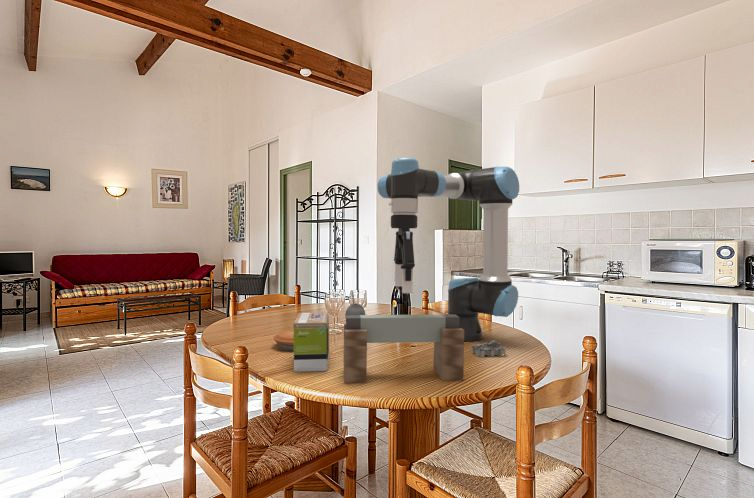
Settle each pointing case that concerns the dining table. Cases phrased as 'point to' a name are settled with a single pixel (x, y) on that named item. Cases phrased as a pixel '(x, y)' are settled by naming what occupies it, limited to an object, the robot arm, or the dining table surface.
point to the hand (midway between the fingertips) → (403, 289)
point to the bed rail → (402, 327)
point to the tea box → (311, 342)
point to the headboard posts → (445, 355)
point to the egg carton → (488, 349)
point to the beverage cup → (355, 309)
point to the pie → (285, 340)
